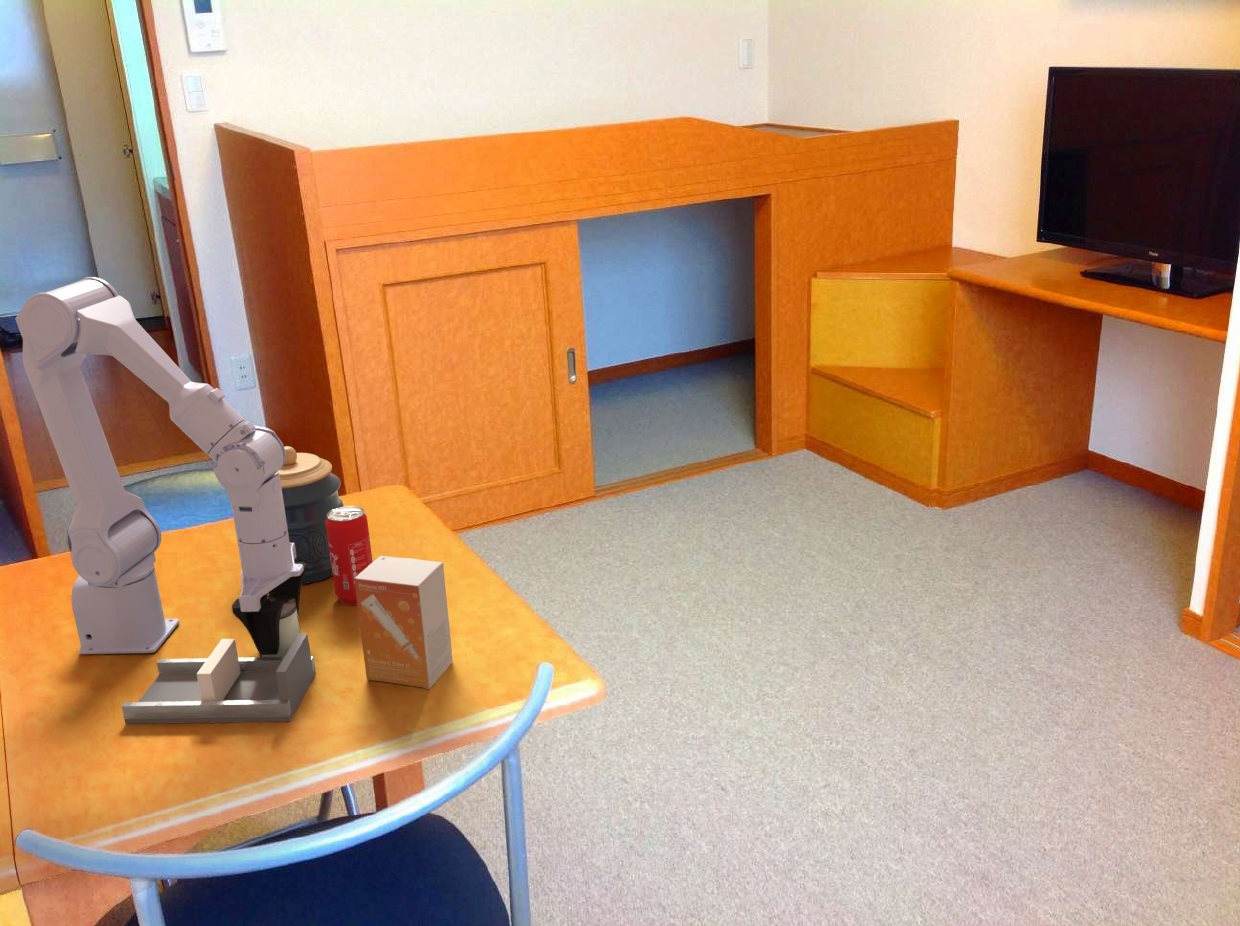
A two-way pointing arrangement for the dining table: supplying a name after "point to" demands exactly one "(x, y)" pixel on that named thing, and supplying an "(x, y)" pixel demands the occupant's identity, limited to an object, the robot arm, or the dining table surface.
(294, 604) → the cream jar with lid
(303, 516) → the canister
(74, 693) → the dining table surface
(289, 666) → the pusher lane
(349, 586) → the beverage can
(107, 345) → the robot arm
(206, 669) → the block
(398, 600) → the small box
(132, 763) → the dining table surface
